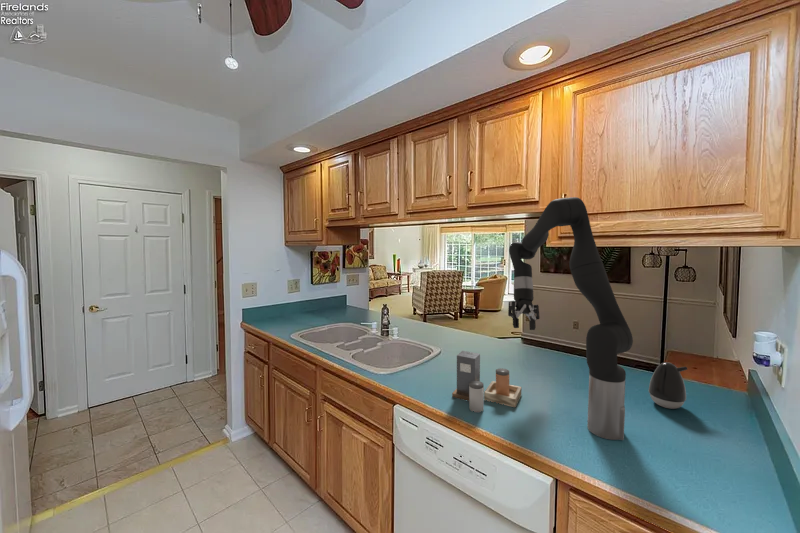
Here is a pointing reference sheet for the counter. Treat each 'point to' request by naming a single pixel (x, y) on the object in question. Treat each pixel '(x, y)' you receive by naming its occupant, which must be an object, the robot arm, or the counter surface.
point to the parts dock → (502, 399)
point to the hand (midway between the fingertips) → (524, 329)
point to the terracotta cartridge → (502, 381)
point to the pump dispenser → (668, 386)
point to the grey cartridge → (476, 396)
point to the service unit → (466, 373)
